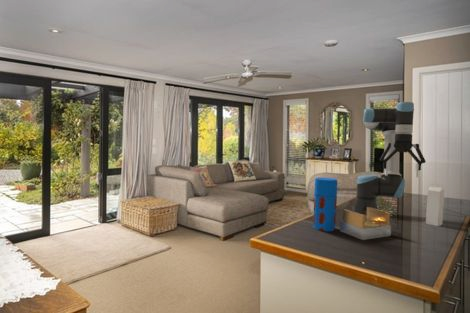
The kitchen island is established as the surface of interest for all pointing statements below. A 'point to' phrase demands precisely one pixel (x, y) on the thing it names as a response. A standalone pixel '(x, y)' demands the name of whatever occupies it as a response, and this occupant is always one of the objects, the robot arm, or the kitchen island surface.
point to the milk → (435, 205)
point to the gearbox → (366, 224)
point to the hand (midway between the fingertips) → (401, 176)
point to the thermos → (325, 204)
